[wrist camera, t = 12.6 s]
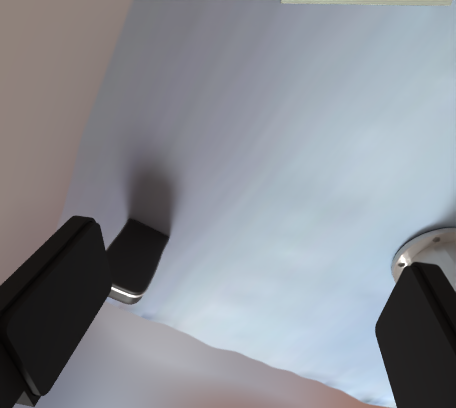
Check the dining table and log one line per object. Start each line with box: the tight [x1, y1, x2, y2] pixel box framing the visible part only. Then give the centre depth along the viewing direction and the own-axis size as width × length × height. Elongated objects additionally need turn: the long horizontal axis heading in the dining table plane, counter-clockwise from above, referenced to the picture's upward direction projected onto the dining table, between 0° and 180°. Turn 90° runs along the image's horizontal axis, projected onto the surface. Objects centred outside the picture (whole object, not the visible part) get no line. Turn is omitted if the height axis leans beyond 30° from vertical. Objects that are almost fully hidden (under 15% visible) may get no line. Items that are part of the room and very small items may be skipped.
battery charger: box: [106, 219, 169, 304], centre depth 41 cm, size 7×4×11 cm, turn 62°
